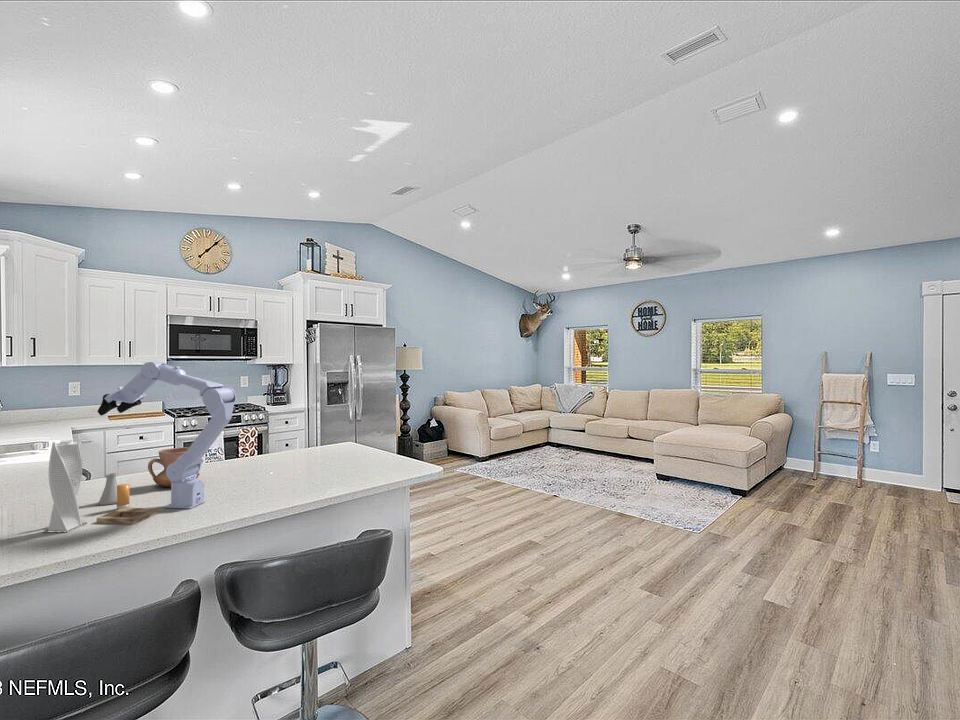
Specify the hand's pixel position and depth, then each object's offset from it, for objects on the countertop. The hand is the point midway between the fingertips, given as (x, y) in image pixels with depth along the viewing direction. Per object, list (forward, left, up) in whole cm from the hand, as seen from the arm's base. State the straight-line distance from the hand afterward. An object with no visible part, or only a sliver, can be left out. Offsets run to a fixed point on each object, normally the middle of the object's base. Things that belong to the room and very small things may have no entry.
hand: (109, 412), depth 162 cm
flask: (-1, 0, -32) cm, 32 cm away
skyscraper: (-9, +24, -32) cm, 41 cm away
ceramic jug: (-7, -23, -32) cm, 40 cm away
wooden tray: (-20, +14, -32) cm, 40 cm away
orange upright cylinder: (-11, +6, -32) cm, 34 cm away
